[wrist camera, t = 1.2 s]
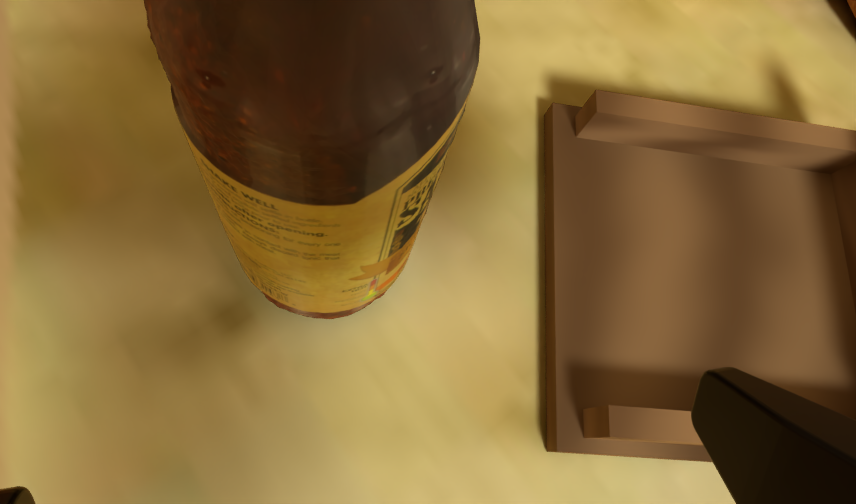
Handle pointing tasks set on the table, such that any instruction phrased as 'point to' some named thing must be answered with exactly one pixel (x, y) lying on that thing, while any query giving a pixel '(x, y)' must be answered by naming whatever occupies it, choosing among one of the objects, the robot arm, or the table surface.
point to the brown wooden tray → (690, 267)
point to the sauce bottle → (319, 131)
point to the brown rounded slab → (852, 6)
